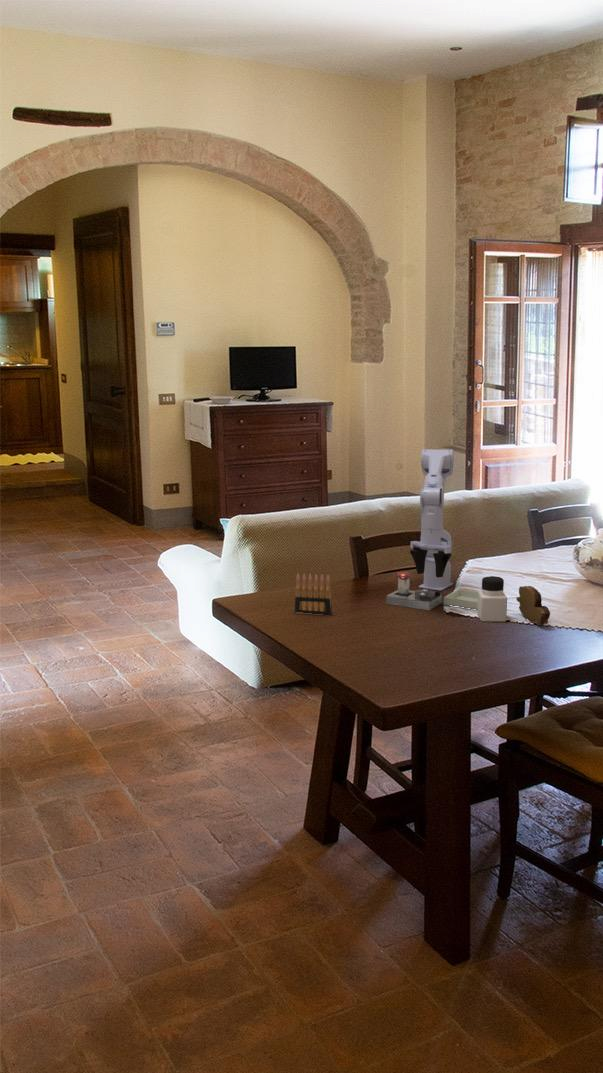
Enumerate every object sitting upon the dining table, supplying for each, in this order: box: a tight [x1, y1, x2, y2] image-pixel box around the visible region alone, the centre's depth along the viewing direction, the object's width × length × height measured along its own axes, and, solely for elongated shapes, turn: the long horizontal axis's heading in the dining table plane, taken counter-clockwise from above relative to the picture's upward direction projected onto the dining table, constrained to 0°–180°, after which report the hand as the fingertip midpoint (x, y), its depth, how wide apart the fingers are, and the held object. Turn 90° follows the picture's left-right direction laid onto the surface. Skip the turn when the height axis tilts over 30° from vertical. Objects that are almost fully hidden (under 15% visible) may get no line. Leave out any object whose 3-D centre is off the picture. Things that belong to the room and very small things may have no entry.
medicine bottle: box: [476, 575, 508, 623], centre depth 279 cm, size 7×7×12 cm
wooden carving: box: [516, 585, 551, 626], centre depth 276 cm, size 16×5×10 cm, turn 18°
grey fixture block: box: [385, 588, 443, 611], centre depth 295 cm, size 9×14×5 cm, turn 58°
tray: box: [443, 588, 478, 611], centre depth 295 cm, size 11×11×2 cm
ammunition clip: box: [294, 572, 333, 616], centre depth 285 cm, size 11×2×12 cm, turn 77°
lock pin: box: [396, 571, 412, 597], centre depth 297 cm, size 4×4×9 cm
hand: (429, 575), depth 286 cm, fingers open, 7 cm apart
